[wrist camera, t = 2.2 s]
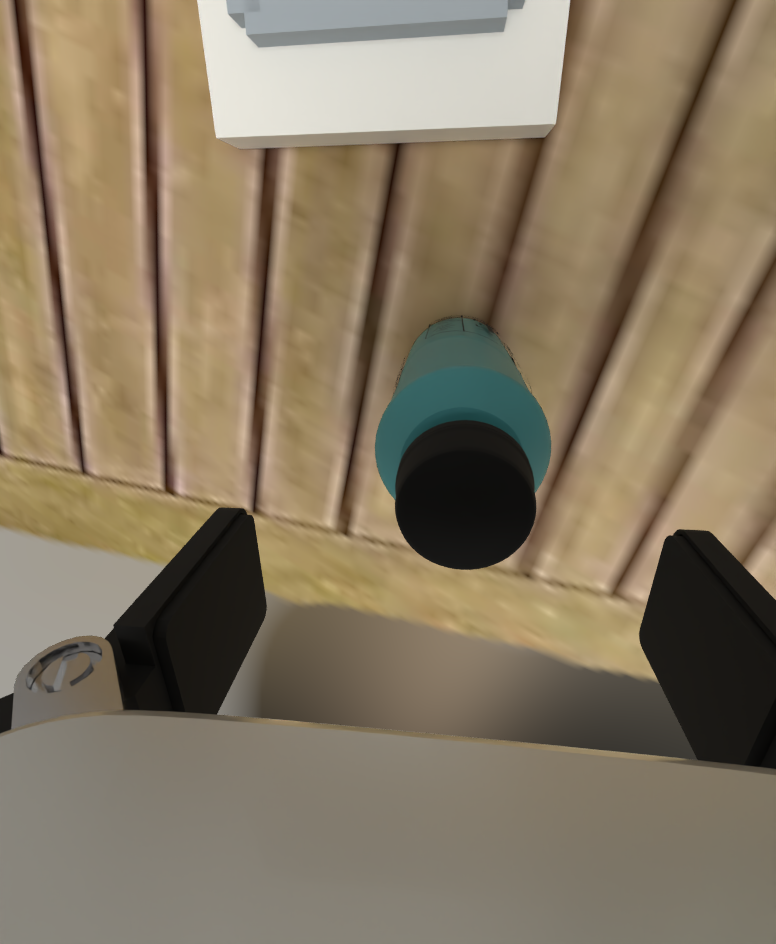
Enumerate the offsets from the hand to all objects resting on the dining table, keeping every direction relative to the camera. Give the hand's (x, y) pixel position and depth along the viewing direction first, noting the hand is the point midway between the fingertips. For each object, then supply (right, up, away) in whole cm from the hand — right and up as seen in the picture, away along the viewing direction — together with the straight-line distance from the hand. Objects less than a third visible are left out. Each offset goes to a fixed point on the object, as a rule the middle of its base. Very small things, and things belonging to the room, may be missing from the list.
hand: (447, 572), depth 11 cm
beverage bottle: (+3, +9, +20) cm, 22 cm away
